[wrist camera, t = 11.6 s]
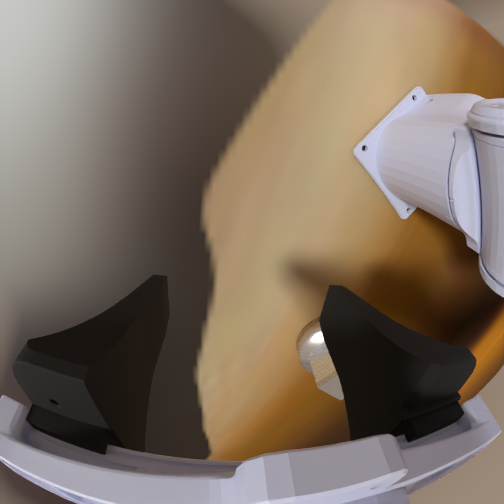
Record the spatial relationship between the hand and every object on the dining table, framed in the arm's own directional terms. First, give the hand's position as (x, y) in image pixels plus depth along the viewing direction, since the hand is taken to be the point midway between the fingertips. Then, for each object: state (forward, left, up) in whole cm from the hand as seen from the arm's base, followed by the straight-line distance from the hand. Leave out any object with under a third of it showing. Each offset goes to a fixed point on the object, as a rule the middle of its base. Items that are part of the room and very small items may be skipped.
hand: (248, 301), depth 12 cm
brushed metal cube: (+3, +15, -8) cm, 17 cm away
